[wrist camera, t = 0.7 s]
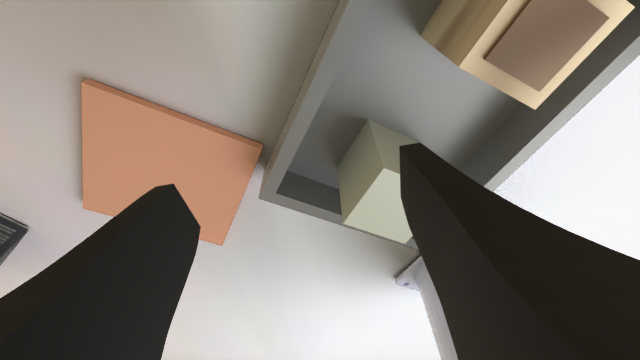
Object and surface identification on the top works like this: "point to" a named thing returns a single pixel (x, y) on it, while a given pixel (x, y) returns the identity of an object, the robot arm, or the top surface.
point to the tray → (417, 104)
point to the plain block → (374, 183)
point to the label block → (522, 40)
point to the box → (9, 235)
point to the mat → (160, 158)
